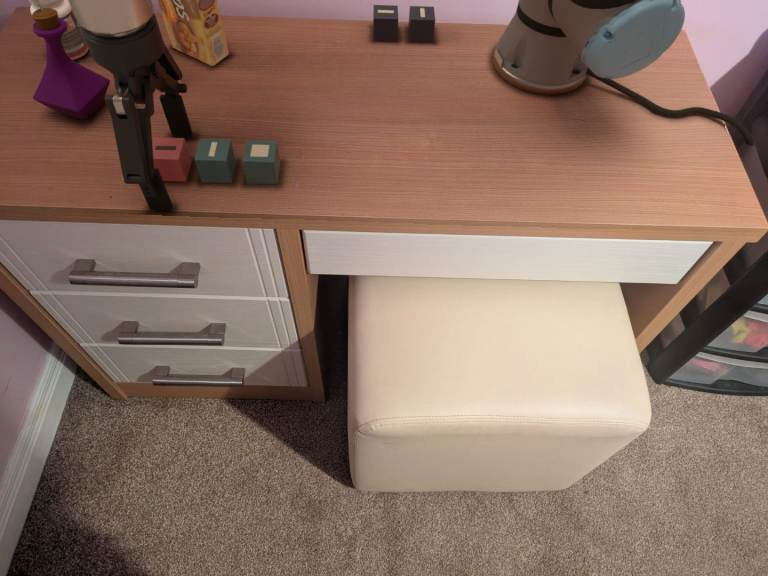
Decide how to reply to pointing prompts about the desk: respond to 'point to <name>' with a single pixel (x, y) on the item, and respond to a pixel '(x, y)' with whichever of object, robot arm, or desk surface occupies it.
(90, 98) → the purple potion bottle
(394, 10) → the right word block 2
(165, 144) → the red minus sign block
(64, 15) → the pill bottle
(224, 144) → the left word block
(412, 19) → the right word block
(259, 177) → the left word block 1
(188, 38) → the candy box
